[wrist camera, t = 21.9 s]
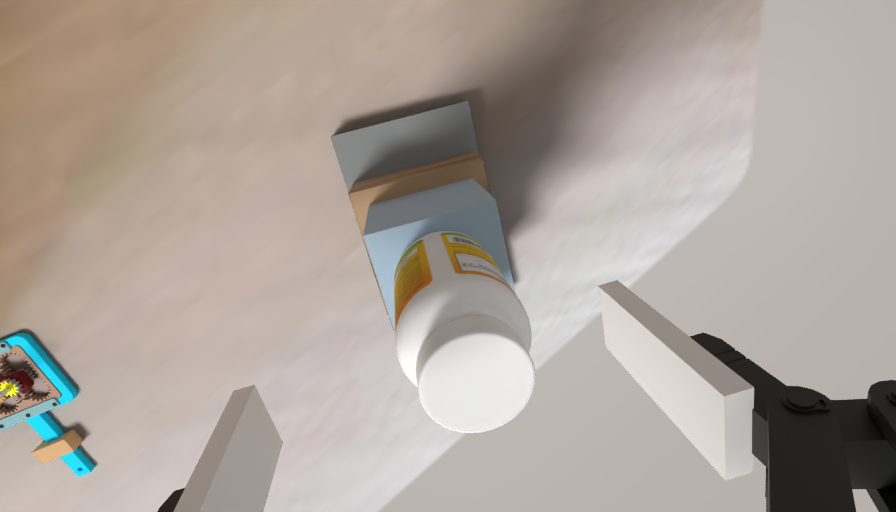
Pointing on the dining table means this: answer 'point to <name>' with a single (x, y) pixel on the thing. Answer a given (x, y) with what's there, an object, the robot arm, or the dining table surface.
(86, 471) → the gear mechanism
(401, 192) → the base brick
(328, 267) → the dining table surface
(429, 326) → the supplement bottle
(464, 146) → the board
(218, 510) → the robot arm
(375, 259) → the blue cube
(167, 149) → the dining table surface
